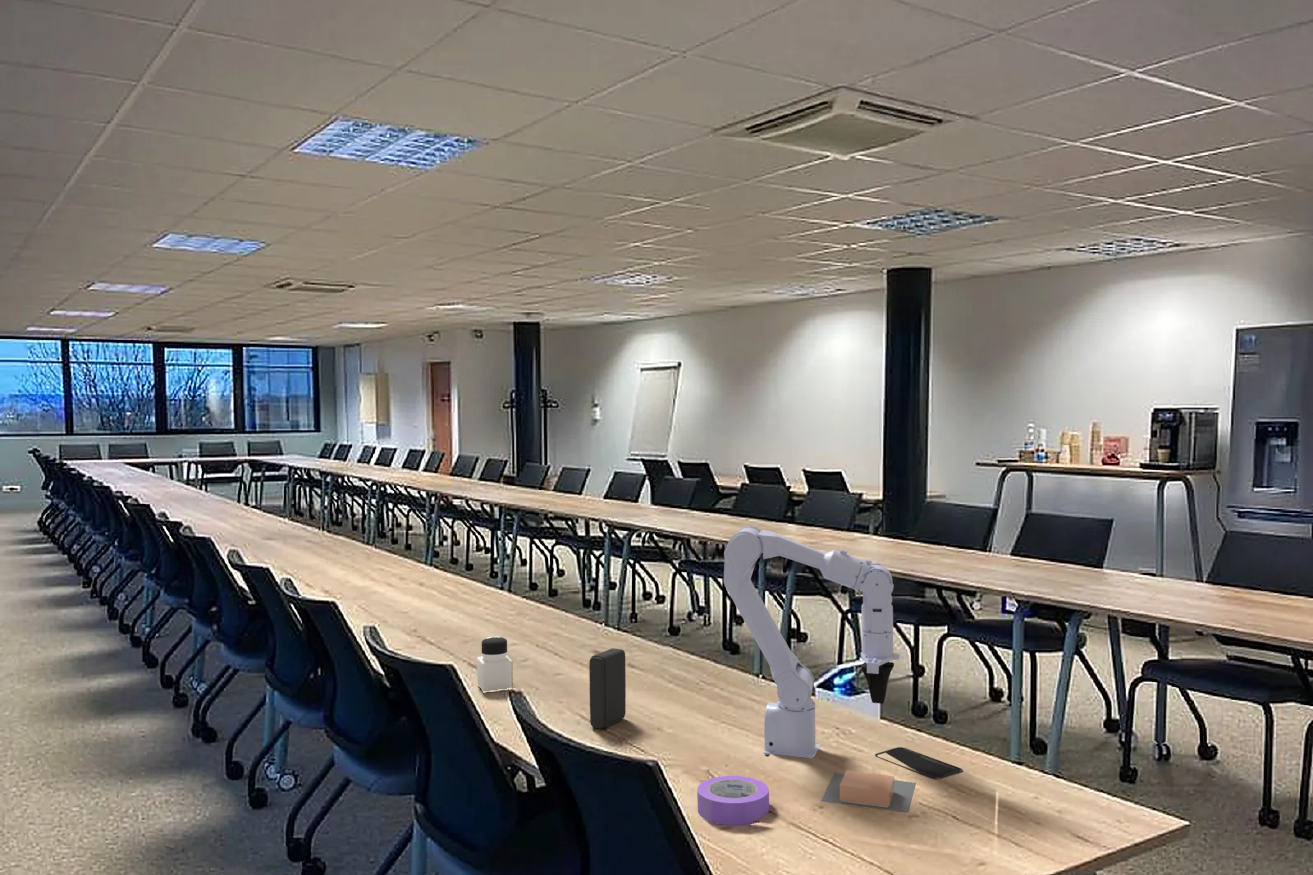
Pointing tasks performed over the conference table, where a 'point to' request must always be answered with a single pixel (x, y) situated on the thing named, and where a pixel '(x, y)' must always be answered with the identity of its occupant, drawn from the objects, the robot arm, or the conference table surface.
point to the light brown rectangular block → (867, 788)
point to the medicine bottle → (494, 665)
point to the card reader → (607, 688)
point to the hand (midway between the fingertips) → (878, 702)
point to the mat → (898, 803)
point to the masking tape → (733, 800)
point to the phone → (922, 763)
